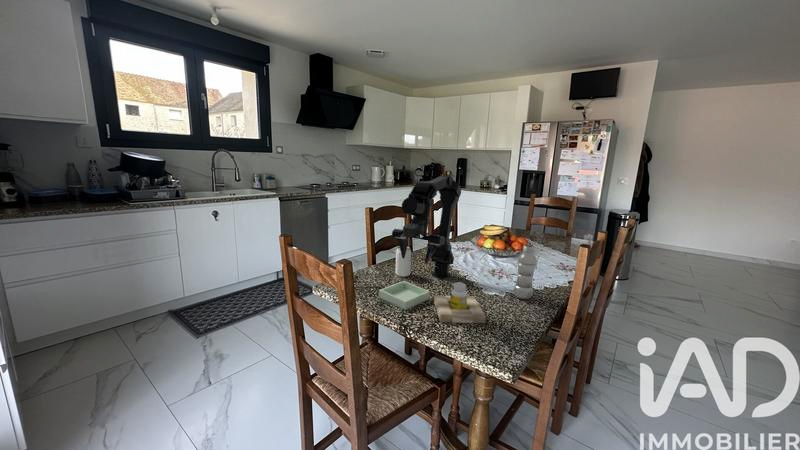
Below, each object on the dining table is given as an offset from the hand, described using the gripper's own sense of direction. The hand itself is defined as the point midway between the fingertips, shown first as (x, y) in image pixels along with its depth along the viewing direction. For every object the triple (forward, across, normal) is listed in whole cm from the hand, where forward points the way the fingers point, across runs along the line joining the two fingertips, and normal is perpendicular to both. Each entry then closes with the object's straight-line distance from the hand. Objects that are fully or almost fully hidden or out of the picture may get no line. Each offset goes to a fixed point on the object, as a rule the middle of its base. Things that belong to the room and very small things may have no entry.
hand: (414, 260), depth 111 cm
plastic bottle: (+8, +34, +26) cm, 44 cm away
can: (+10, -14, +21) cm, 27 cm away
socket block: (+14, +18, +2) cm, 23 cm away
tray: (+14, -2, +1) cm, 15 cm away
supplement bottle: (+14, +18, +2) cm, 23 cm away
